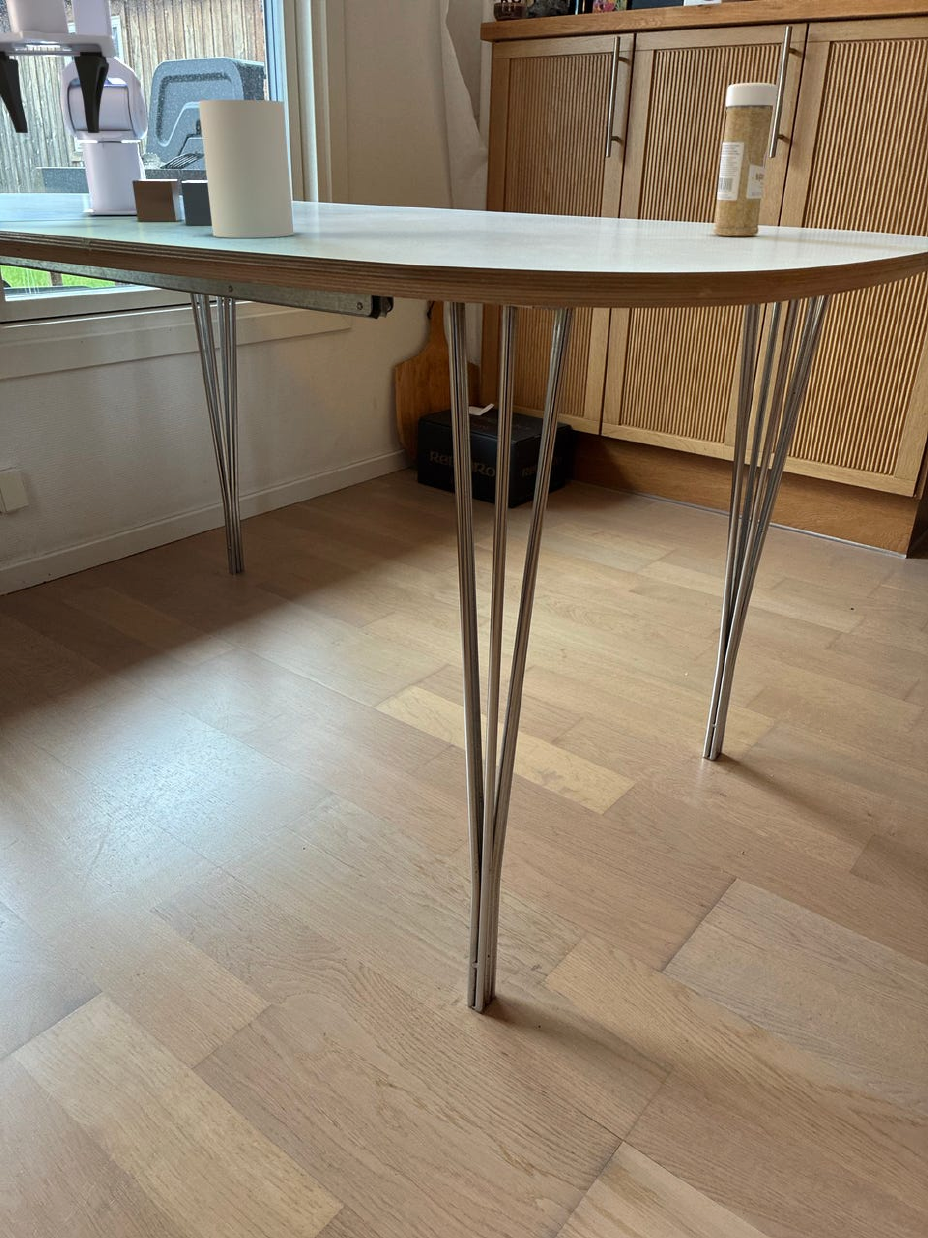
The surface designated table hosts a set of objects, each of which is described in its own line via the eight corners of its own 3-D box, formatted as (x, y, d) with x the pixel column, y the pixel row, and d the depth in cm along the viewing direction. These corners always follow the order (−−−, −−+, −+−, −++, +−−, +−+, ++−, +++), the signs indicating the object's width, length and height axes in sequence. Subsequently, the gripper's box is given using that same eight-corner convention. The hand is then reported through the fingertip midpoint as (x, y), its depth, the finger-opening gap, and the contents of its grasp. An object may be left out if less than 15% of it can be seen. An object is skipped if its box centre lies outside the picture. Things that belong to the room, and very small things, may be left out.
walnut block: (145, 219, 120) (139, 179, 118) (182, 219, 120) (177, 179, 118) (137, 221, 116) (132, 180, 114) (176, 221, 116) (170, 180, 114)
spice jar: (764, 236, 94) (784, 81, 88) (718, 236, 94) (736, 81, 88) (749, 233, 98) (767, 85, 92) (706, 233, 98) (721, 85, 92)
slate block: (192, 222, 114) (187, 180, 112) (230, 222, 114) (226, 180, 112) (185, 225, 110) (180, 181, 107) (226, 224, 110) (221, 181, 108)
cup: (266, 230, 102) (255, 104, 97) (309, 234, 97) (299, 101, 91) (198, 234, 97) (183, 101, 92) (239, 238, 92) (225, 98, 86)
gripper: (-56, -23, 93) (-24, 132, 99) (94, -20, 94) (117, 132, 101) (-30, -12, 99) (-1, 133, 106) (111, -10, 101) (131, 133, 107)
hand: (58, 132), depth 103 cm, fingers open, 7 cm apart
